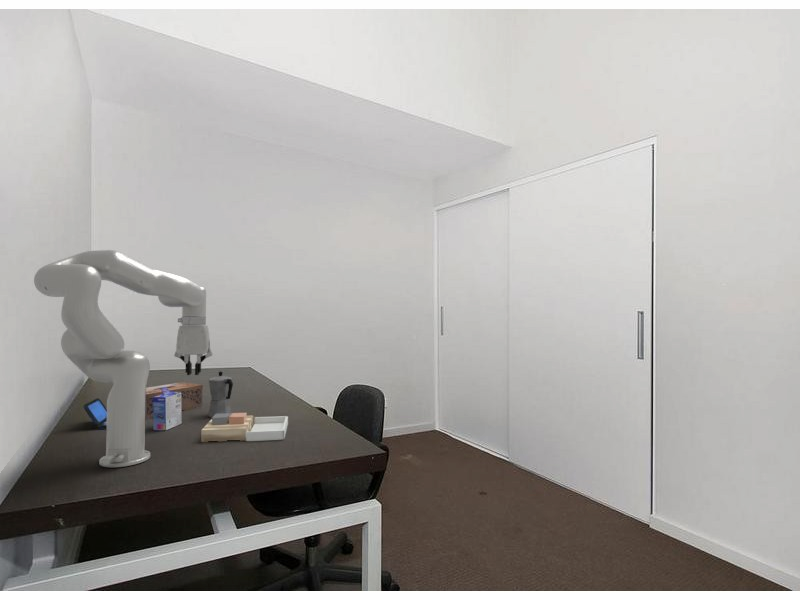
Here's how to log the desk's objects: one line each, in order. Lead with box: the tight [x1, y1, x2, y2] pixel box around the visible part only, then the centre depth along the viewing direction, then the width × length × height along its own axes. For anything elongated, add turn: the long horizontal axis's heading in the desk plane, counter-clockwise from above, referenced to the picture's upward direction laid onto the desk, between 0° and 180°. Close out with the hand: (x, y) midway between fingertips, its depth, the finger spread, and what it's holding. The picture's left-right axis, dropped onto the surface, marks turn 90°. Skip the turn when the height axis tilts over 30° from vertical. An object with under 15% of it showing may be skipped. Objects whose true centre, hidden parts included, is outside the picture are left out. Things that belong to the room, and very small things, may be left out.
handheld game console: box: [83, 397, 107, 430], centre depth 170 cm, size 16×13×9 cm
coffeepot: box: [208, 371, 234, 419], centre depth 184 cm, size 15×9×18 cm, turn 51°
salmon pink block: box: [229, 412, 248, 424], centre depth 158 cm, size 6×5×2 cm
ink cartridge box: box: [152, 387, 182, 431], centre depth 166 cm, size 10×6×14 cm, turn 174°
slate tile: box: [211, 412, 232, 425], centre depth 157 cm, size 6×5×2 cm
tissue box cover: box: [145, 381, 204, 419], centre depth 192 cm, size 26×14×10 cm, turn 150°
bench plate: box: [200, 415, 254, 443], centre depth 157 cm, size 18×14×4 cm
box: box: [245, 415, 289, 442], centre depth 160 cm, size 21×12×3 cm, turn 11°
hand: (193, 374), depth 156 cm, fingers closed
